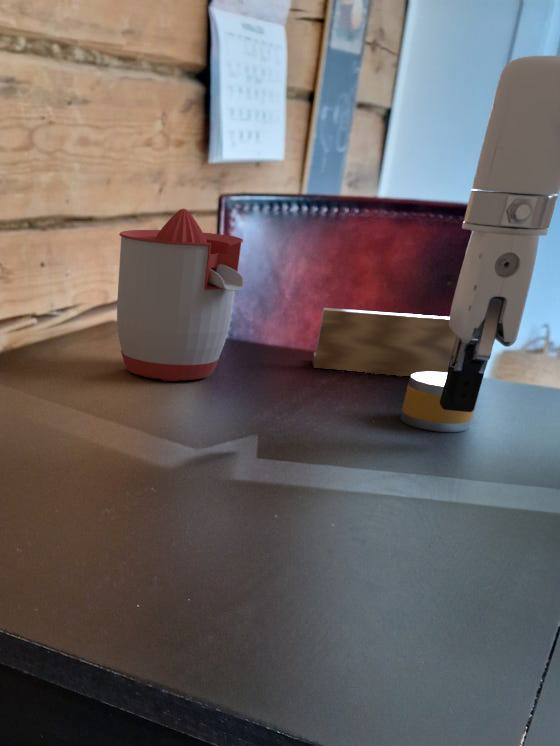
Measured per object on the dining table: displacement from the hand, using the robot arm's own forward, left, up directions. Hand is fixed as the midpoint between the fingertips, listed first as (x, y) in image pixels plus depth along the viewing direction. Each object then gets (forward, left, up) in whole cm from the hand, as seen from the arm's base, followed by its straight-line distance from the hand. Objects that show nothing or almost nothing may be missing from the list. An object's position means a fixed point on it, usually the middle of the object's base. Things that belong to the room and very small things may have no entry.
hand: (455, 408), depth 90 cm
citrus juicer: (+32, -22, -4) cm, 39 cm away
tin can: (0, -9, -4) cm, 10 cm away
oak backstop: (+4, -36, -4) cm, 37 cm away
